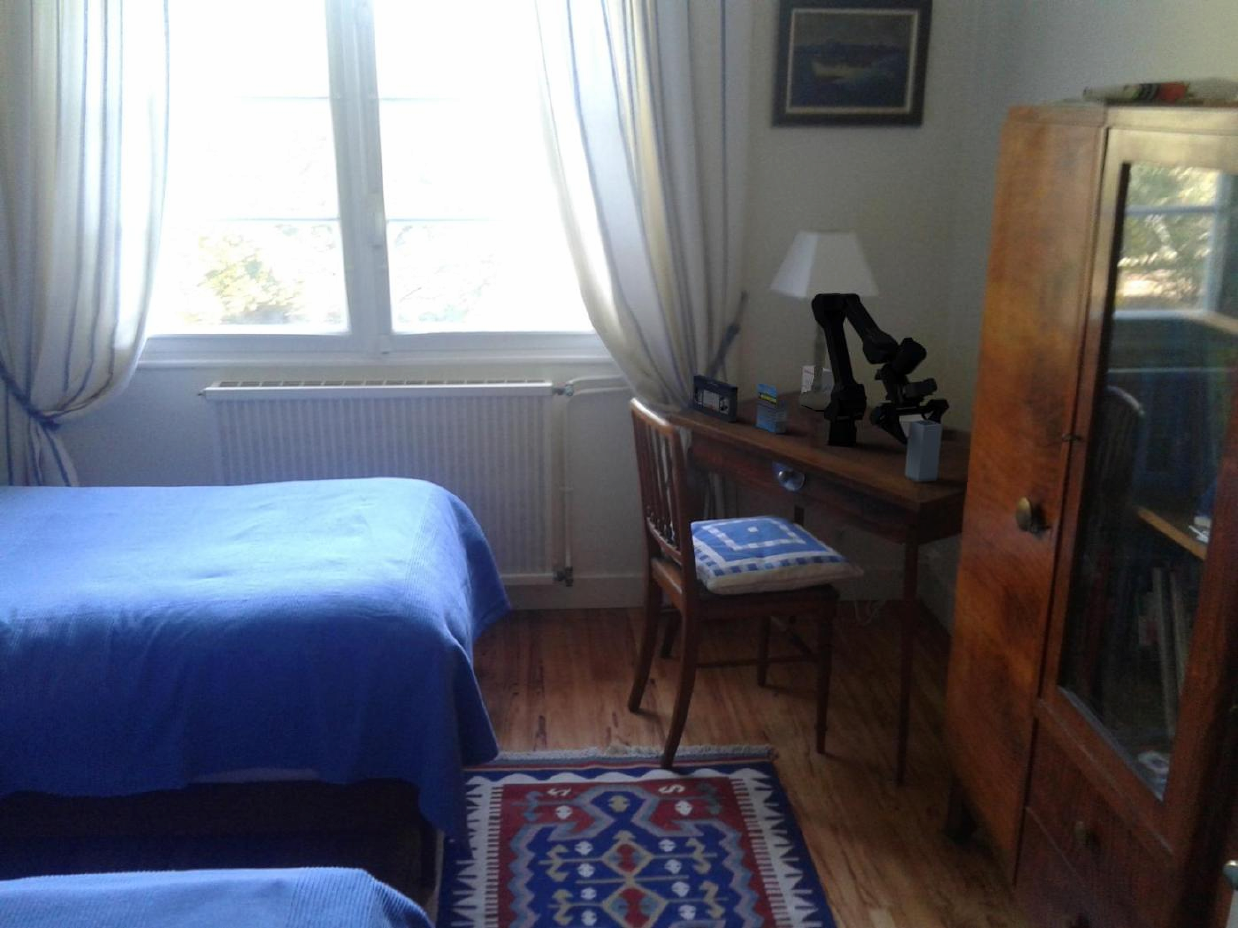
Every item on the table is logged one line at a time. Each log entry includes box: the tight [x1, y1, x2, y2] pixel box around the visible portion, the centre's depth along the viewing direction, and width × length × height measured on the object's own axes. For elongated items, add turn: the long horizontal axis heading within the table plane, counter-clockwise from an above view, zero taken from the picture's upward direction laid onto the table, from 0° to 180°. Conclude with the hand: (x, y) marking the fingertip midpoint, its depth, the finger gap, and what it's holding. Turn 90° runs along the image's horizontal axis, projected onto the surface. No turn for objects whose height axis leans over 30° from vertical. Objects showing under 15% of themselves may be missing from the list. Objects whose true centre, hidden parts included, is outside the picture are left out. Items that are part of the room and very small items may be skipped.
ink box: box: [800, 365, 833, 397], centre depth 308 cm, size 8×5×12 cm, turn 22°
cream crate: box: [890, 414, 924, 438], centre depth 284 cm, size 12×12×4 cm
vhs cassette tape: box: [692, 374, 739, 424], centre depth 297 cm, size 18×3×10 cm, turn 28°
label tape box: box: [756, 381, 788, 435], centre depth 283 cm, size 9×4×12 cm, turn 27°
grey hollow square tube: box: [904, 420, 943, 483], centre depth 242 cm, size 5×5×13 cm
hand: (923, 443), depth 242 cm, fingers open, 9 cm apart
